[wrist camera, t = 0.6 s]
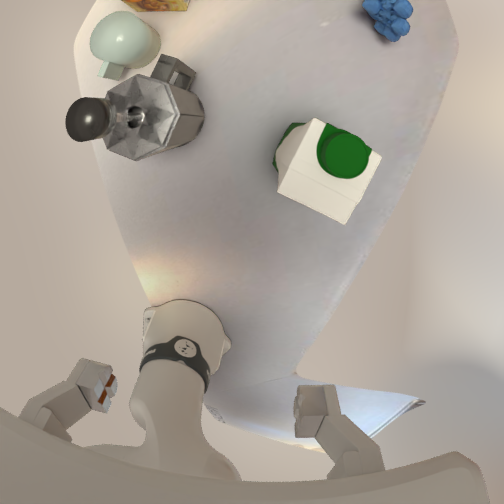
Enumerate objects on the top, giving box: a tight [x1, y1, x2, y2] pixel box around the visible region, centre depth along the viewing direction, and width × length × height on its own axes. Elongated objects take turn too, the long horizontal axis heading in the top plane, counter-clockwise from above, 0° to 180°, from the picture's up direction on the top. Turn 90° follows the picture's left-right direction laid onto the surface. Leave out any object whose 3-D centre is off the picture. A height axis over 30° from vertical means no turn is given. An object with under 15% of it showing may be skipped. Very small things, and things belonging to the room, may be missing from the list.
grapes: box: [362, 0, 413, 42], centre depth 25 cm, size 12×7×12 cm, turn 16°
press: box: [103, 54, 205, 161], centre depth 32 cm, size 12×9×15 cm
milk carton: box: [273, 118, 382, 225], centre depth 32 cm, size 9×9×20 cm
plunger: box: [66, 97, 144, 142], centre depth 22 cm, size 6×6×12 cm
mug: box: [90, 11, 161, 81], centre depth 30 cm, size 10×8×9 cm
